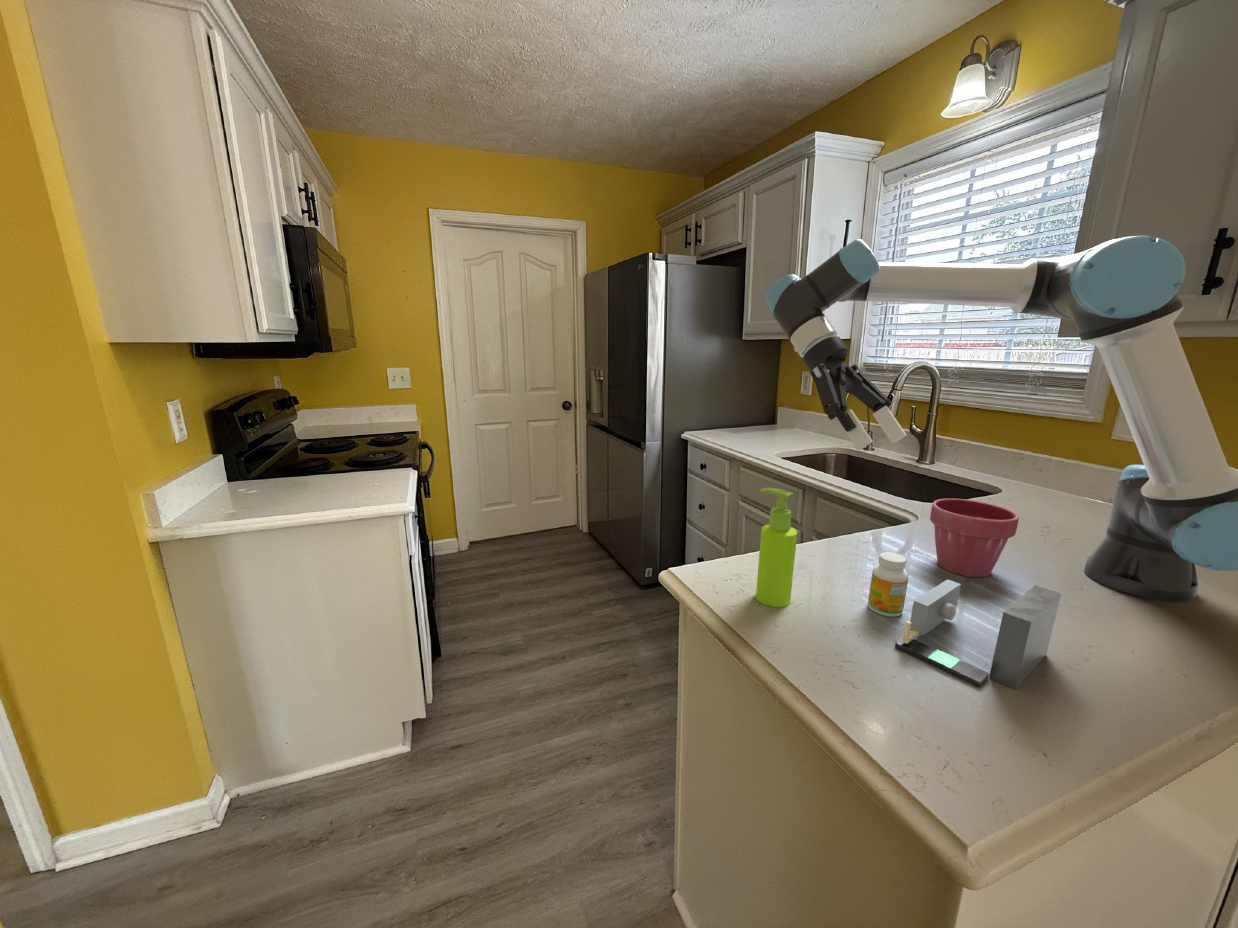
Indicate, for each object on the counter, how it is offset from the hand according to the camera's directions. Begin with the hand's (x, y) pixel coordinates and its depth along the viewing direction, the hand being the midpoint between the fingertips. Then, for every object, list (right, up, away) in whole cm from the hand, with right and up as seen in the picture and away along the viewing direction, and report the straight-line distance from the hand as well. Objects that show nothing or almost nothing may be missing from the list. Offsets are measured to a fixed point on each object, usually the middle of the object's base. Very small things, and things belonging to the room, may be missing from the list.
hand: (883, 442), depth 88 cm
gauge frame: (+6, -32, -13) cm, 35 cm away
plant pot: (+24, -25, +15) cm, 38 cm away
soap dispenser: (-19, -28, +2) cm, 34 cm away
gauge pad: (+3, -29, -9) cm, 31 cm away
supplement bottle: (-1, -29, -2) cm, 29 cm away
